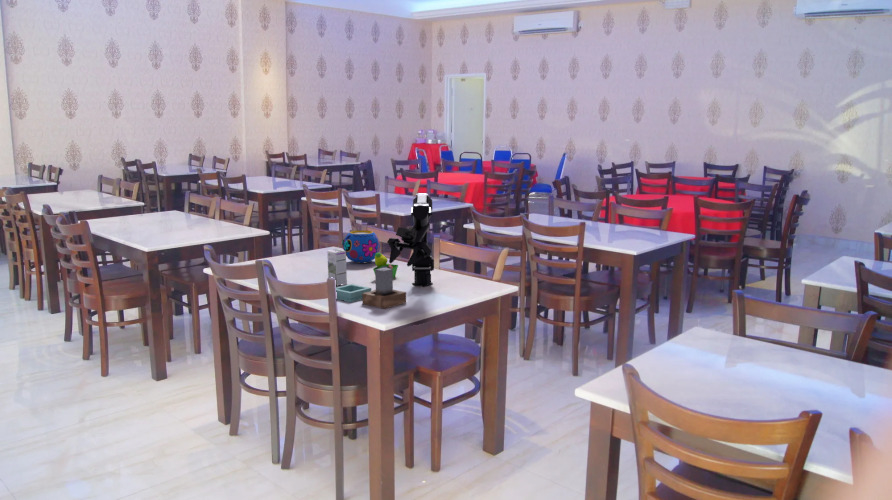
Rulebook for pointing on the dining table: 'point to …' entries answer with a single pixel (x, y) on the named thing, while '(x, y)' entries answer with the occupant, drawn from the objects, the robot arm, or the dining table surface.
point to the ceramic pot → (361, 246)
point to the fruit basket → (384, 263)
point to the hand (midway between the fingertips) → (398, 264)
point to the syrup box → (337, 266)
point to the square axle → (384, 281)
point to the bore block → (384, 299)
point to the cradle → (351, 292)
